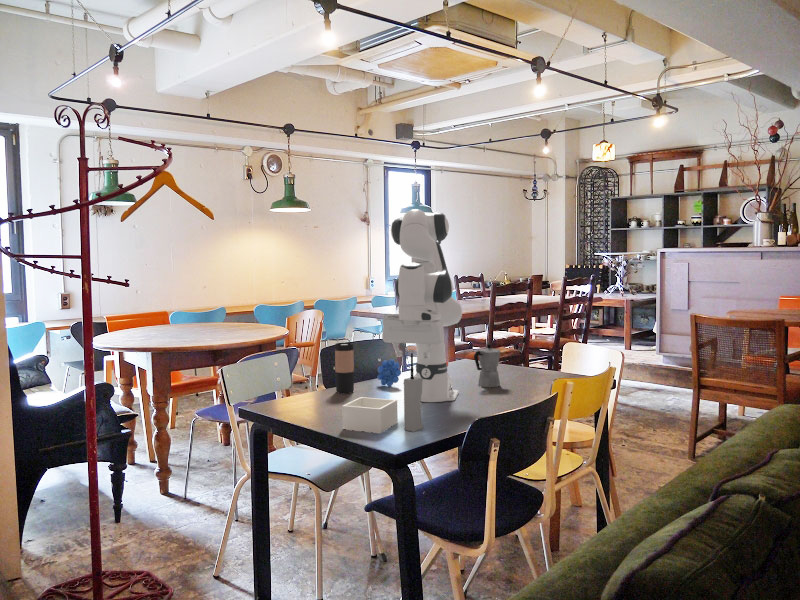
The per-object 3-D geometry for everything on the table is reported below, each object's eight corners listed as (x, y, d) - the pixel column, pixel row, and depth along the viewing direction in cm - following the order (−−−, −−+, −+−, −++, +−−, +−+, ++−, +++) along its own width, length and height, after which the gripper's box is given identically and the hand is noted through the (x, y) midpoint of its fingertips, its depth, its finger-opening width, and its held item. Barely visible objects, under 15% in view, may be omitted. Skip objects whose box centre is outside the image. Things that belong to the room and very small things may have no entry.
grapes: (406, 385, 279) (405, 358, 278) (398, 388, 273) (397, 360, 273) (382, 383, 285) (382, 356, 284) (374, 386, 279) (374, 358, 278)
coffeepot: (491, 382, 285) (491, 341, 284) (507, 385, 278) (507, 343, 277) (466, 386, 276) (466, 344, 274) (482, 390, 268) (482, 347, 267)
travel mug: (332, 393, 266) (331, 344, 265) (340, 389, 273) (339, 342, 272) (350, 394, 264) (349, 345, 262) (357, 390, 271) (356, 342, 270)
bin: (361, 419, 223) (360, 397, 223) (397, 423, 218) (397, 400, 217) (342, 429, 211) (342, 405, 210) (380, 433, 206) (380, 409, 205)
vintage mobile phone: (423, 429, 210) (422, 352, 208) (413, 432, 206) (412, 354, 205) (414, 427, 213) (413, 351, 211) (404, 430, 209) (403, 353, 207)
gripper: (378, 314, 208) (379, 357, 209) (439, 315, 200) (439, 360, 201) (386, 312, 214) (387, 354, 215) (445, 313, 206) (446, 357, 207)
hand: (413, 357), depth 208 cm, fingers open, 8 cm apart
